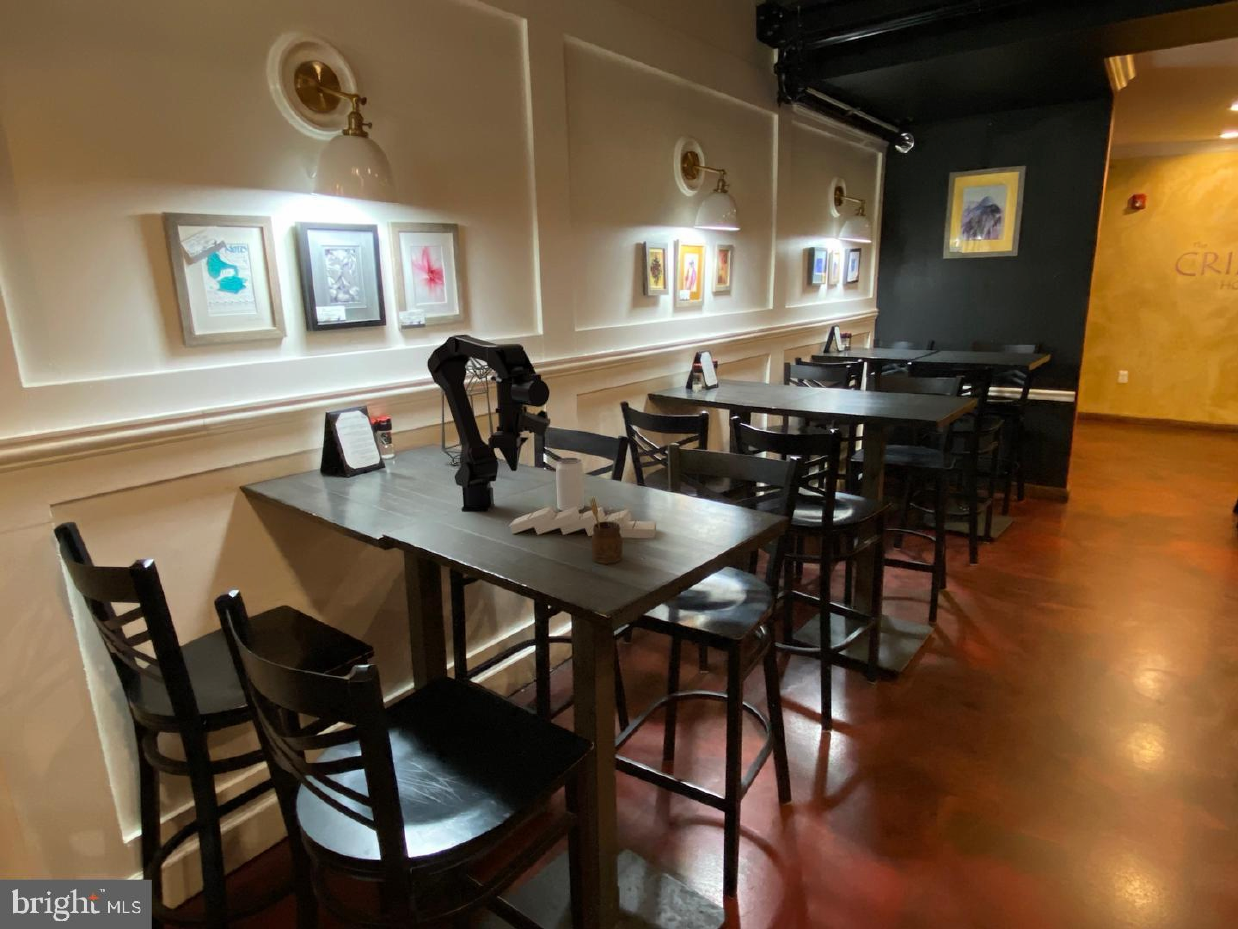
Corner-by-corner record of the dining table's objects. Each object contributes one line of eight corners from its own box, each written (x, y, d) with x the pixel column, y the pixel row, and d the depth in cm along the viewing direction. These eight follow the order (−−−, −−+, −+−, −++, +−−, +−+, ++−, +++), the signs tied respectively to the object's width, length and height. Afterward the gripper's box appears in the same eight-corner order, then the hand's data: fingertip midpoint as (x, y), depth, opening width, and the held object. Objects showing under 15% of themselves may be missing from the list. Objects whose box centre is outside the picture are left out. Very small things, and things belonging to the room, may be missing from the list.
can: (580, 513, 168) (578, 464, 165) (554, 511, 170) (552, 463, 167) (587, 505, 175) (585, 457, 172) (561, 503, 176) (559, 456, 173)
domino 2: (533, 526, 154) (571, 513, 152) (539, 518, 159) (576, 506, 157) (537, 535, 154) (574, 522, 152) (543, 527, 159) (579, 514, 157)
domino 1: (509, 525, 155) (545, 512, 153) (515, 518, 160) (551, 505, 157) (512, 534, 155) (549, 521, 153) (519, 526, 160) (555, 514, 158)
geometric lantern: (433, 467, 214) (424, 349, 206) (464, 456, 228) (456, 346, 221) (477, 470, 208) (470, 349, 200) (506, 459, 222) (499, 346, 215)
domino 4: (584, 527, 153) (622, 516, 150) (591, 519, 157) (628, 508, 154) (588, 536, 153) (626, 525, 150) (595, 528, 158) (631, 517, 155)
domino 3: (559, 526, 154) (597, 513, 152) (564, 519, 158) (601, 506, 156) (563, 535, 154) (601, 522, 152) (568, 527, 159) (605, 515, 157)
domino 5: (611, 528, 152) (653, 529, 151) (615, 520, 157) (656, 521, 155) (612, 537, 153) (653, 538, 151) (615, 529, 157) (656, 530, 156)
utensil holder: (612, 567, 136) (610, 507, 133) (584, 560, 139) (583, 502, 136) (628, 557, 141) (627, 499, 138) (601, 551, 144) (600, 494, 141)
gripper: (538, 409, 147) (541, 482, 151) (554, 395, 165) (556, 460, 169) (485, 409, 148) (490, 481, 152) (506, 395, 166) (510, 460, 170)
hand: (514, 470), depth 160 cm, fingers closed
